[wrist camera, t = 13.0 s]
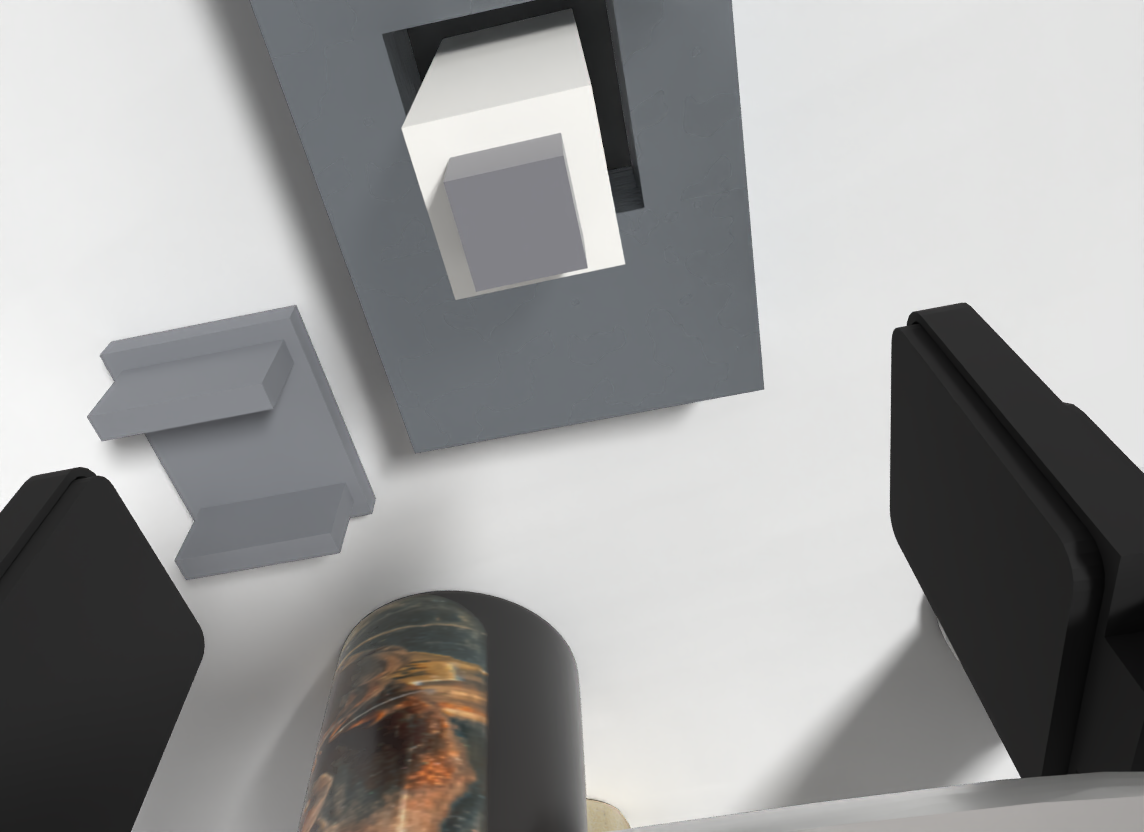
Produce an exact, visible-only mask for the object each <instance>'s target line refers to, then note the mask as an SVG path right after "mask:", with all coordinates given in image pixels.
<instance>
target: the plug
mask: <svg viewBox="0 0 1144 832" xmlns="http://www.w3.org/2000/svg"><path fill="white" fill-rule="evenodd" d="M401 129H402V132H403V135H404V138H405V141H406V145H407V148H408V151H409V154H410V157H411V160H412V164H413V167H414V170H415V173H416V176H417V180H418V183H419V186H420V189H421V192H422V195H423V199H424V202H425V205H426V208H427V211H428V214H429V218H430V221H431V224H432V227H433V230H434V233H435V237H436V240H437V243H438V246H439V249H440V252H441V256H442V259H443V262H444V265H445V268H446V271H447V275H448V278H449V281H450V284H451V287H452V291H453V294H454V297H455V300H458V299H463V298H468V297H472V296H477V295H482V294H487V293H491V292H496V291H501V290H505V289H510V288H515V287H520V286H524V285H529V284H534V283H539V282H543V281H548V280H553V279H558V278H562V277H567V276H572V275H576V274H581V273H586V272H591V271H595V270H600V269H605V268H610V267H614V266H619V265H624V264H625V260H624V255H623V249H622V244H621V239H620V234H619V228H618V223H617V218H616V213H615V207H614V202H613V197H612V192H611V186H610V181H609V176H608V170H607V165H606V160H605V155H604V149H603V144H602V139H601V134H600V128H599V123H598V118H597V113H596V107H595V102H594V97H593V91H592V86H591V82H590V78H589V74H588V70H587V66H586V62H585V58H584V54H583V50H582V46H581V42H580V38H579V34H578V30H577V26H576V22H575V18H574V14H573V10H572V8H570V9H566V10H562V11H558V12H554V13H549V14H545V15H541V16H537V17H532V18H528V19H524V20H520V21H516V22H511V23H507V24H503V25H499V26H494V27H490V28H486V29H482V30H478V31H473V32H469V33H465V34H461V35H457V36H452V37H448V38H444V39H442V42H441V44H440V46H439V48H438V50H437V52H436V55H435V57H434V59H433V61H432V63H431V65H430V68H429V70H428V72H427V74H426V76H425V78H424V80H423V83H422V85H421V87H420V89H419V91H418V93H417V96H416V98H415V100H414V102H413V104H412V106H411V109H410V111H409V113H408V115H407V117H406V119H405V121H404V124H403V126H402V128H401Z"/></svg>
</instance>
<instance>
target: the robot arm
mask: <svg viewBox="0 0 1144 832" xmlns="http://www.w3.org/2000/svg"><path fill="white" fill-rule="evenodd" d="M890 517H891V523H892V527H893V531H894V534H895V537H896V540H897V542H898V544H899V546H900V548H901V550H902V552H903V553H904V555H905V557H906V559H907V561H908V563H909V565H910V567H911V569H912V571H913V573H914V574H915V576H916V578H917V580H918V582H919V584H920V586H921V588H922V590H923V592H924V594H925V595H926V597H927V599H928V601H929V603H930V605H931V607H932V609H933V611H934V613H935V615H936V616H937V619H938V624H939V627H940V629H941V632H942V634H943V637H944V639H945V640H946V642H947V644H948V646H949V647H950V649H951V651H952V652H953V654H954V656H955V658H956V659H958V660H959V661H960V662H961V664H962V666H963V668H964V670H965V672H966V674H967V676H968V677H969V679H970V681H971V683H972V685H973V687H974V689H975V691H976V693H977V695H978V697H979V698H980V700H981V702H982V704H983V706H984V708H985V710H986V712H987V714H988V716H989V718H990V719H991V721H992V723H993V725H994V727H995V729H996V731H997V733H998V735H999V737H1000V738H1001V740H1002V742H1003V744H1004V746H1005V748H1006V750H1007V752H1008V754H1009V756H1010V758H1011V759H1012V761H1013V763H1014V765H1015V767H1016V769H1017V771H1018V773H1019V775H1020V777H1021V778H1019V779H1006V780H996V781H988V782H980V783H972V784H964V785H956V786H947V787H939V788H931V789H923V790H915V791H907V792H899V793H890V794H882V795H874V796H866V797H858V798H850V799H841V800H833V801H825V802H817V803H809V804H802V805H795V806H788V807H781V808H774V809H766V810H759V811H752V812H745V813H738V814H731V815H723V816H716V817H709V818H702V819H695V820H688V821H680V822H673V823H666V824H659V825H652V826H645V827H637V828H630V829H623V830H616V831H609V832H1144V473H1143V472H1142V471H1141V470H1140V469H1139V468H1138V467H1137V466H1136V465H1135V464H1134V463H1133V462H1132V461H1131V460H1130V459H1129V458H1128V457H1127V456H1126V455H1125V454H1124V453H1123V452H1122V451H1121V450H1120V449H1119V448H1118V447H1117V446H1116V445H1115V444H1114V443H1113V442H1112V441H1111V440H1110V438H1109V437H1108V436H1107V435H1106V434H1105V433H1104V432H1103V431H1102V430H1101V429H1100V428H1099V427H1098V426H1097V425H1096V424H1095V423H1094V422H1093V421H1092V420H1091V419H1090V418H1089V417H1088V416H1087V415H1086V414H1085V413H1084V412H1083V411H1082V410H1080V409H1079V408H1078V407H1076V406H1075V405H1074V404H1069V403H1064V402H1062V401H1061V400H1060V399H1059V398H1058V397H1057V396H1056V395H1055V394H1054V393H1053V392H1052V391H1051V390H1050V388H1049V387H1048V386H1047V385H1046V384H1045V383H1044V382H1043V381H1042V380H1041V379H1040V378H1039V377H1038V376H1037V375H1036V374H1035V373H1034V372H1033V371H1032V370H1031V369H1030V368H1029V367H1028V365H1027V364H1026V363H1025V362H1024V361H1023V360H1022V359H1021V358H1020V357H1019V356H1018V355H1017V354H1016V353H1015V352H1014V351H1013V350H1012V349H1011V348H1010V347H1009V346H1008V345H1007V344H1006V343H1005V341H1004V340H1003V339H1002V338H1001V337H1000V336H999V335H998V334H997V333H996V332H995V331H994V330H993V329H992V328H991V327H990V326H989V325H988V324H987V323H986V322H985V321H984V320H983V319H982V317H981V316H980V315H979V314H978V313H977V312H976V311H975V310H974V309H973V308H972V307H971V306H970V305H968V304H967V303H958V304H953V305H947V306H942V307H936V308H931V309H926V310H920V311H915V312H912V313H911V314H910V315H909V318H908V321H907V326H904V327H899V328H895V330H894V331H893V334H892V352H891V449H890ZM204 646H205V645H204V636H203V632H202V630H201V627H200V625H199V624H198V622H197V621H196V619H195V617H194V616H193V614H192V612H191V611H190V609H189V608H188V606H187V604H186V603H185V601H184V599H183V598H182V596H181V595H180V593H179V591H178V590H177V588H176V587H175V585H174V583H173V582H172V580H171V578H170V577H169V575H168V574H167V572H166V570H165V569H164V567H163V566H162V564H161V562H160V561H159V559H158V557H157V556H156V554H155V553H154V551H153V549H152V548H151V546H150V544H149V543H148V541H147V540H146V538H145V536H144V535H143V533H142V532H141V530H140V528H139V527H138V525H137V523H136V522H135V520H134V519H133V517H132V515H131V514H130V512H129V510H128V509H127V507H126V506H125V504H124V502H123V501H122V499H121V498H120V496H119V494H118V493H117V491H116V489H115V488H114V486H113V485H112V484H111V482H110V481H109V480H108V479H106V478H105V477H102V476H96V474H95V473H94V472H92V471H91V470H89V469H88V468H83V467H78V468H72V469H67V470H62V471H56V472H51V473H45V474H40V475H36V476H32V477H31V478H29V479H28V480H27V481H26V482H25V483H24V484H23V485H22V486H21V488H20V489H19V490H18V491H17V493H16V494H15V495H14V496H13V498H12V499H11V500H10V501H9V503H8V504H7V505H6V506H5V507H4V509H3V510H2V511H1V512H0V832H131V830H132V827H133V825H134V823H135V820H136V818H137V815H138V813H139V811H140V808H141V806H142V803H143V801H144V798H145V796H146V794H147V791H148V789H149V786H150V784H151V781H152V779H153V777H154V774H155V772H156V769H157V767H158V765H159V762H160V760H161V757H162V755H163V752H164V750H165V748H166V745H167V743H168V740H169V738H170V736H171V733H172V731H173V728H174V726H175V723H176V721H177V719H178V716H179V714H180V711H181V709H182V707H183V704H184V702H185V699H186V697H187V694H188V692H189V690H190V687H191V685H192V682H193V680H194V677H195V675H196V673H197V670H198V668H199V665H200V663H201V661H202V658H203V654H204Z"/></svg>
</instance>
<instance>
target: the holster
mask: <svg viewBox="0 0 1144 832" xmlns="http://www.w3.org/2000/svg"><path fill="white" fill-rule="evenodd" d="M100 357H101V359H102V360H103V362H104V364H105V366H106V367H107V369H108V371H109V373H110V374H111V376H112V378H113V380H114V381H115V382H114V383H113V384H112V385H111V387H110V388H109V389H108V391H107V392H106V393H105V394H104V396H103V397H102V398H101V400H100V401H99V402H98V403H97V405H96V406H95V407H94V408H93V410H92V411H91V412H90V414H89V415H88V416H87V418H88V420H89V421H90V423H91V424H92V426H93V428H94V429H95V431H96V433H97V434H98V436H99V438H100V439H101V441H106V440H111V439H117V438H122V437H127V436H132V435H138V434H143V433H144V434H145V436H146V437H147V439H148V441H149V443H150V444H151V446H152V448H153V450H154V451H155V453H156V455H157V457H158V458H159V460H160V462H161V464H162V465H163V467H164V469H165V471H166V472H167V474H168V476H169V478H170V479H171V481H172V483H173V485H174V486H175V488H176V490H177V492H178V493H179V495H180V497H181V499H182V500H183V502H184V504H185V506H186V507H187V509H188V511H189V513H190V514H191V516H192V518H193V520H194V523H193V525H192V527H191V529H190V531H189V533H188V535H187V537H186V539H185V541H184V543H183V545H182V547H181V549H180V551H179V553H178V555H177V557H176V559H175V562H176V564H177V566H178V567H179V569H180V571H181V572H182V574H183V576H184V577H185V579H186V580H189V579H195V578H201V577H206V576H212V575H218V574H224V573H229V572H235V571H241V570H246V569H252V568H258V567H263V566H269V565H275V564H280V563H286V562H292V561H297V560H303V559H309V558H314V557H320V556H326V555H332V554H337V553H340V551H341V548H342V544H343V540H344V537H345V533H346V529H347V526H348V522H349V518H351V517H357V516H363V515H368V514H372V512H373V508H374V504H375V499H376V498H375V495H374V493H373V490H372V488H371V485H370V483H369V481H368V478H367V476H366V473H365V471H364V468H363V466H362V464H361V461H360V459H359V456H358V454H357V451H356V449H355V447H354V444H353V442H352V439H351V437H350V434H349V432H348V430H347V427H346V425H345V422H344V420H343V417H342V415H341V413H340V410H339V408H338V405H337V403H336V400H335V398H334V396H333V393H332V391H331V388H330V386H329V383H328V381H327V379H326V376H325V374H324V371H323V369H322V366H321V364H320V362H319V359H318V357H317V354H316V352H315V349H314V347H313V345H312V342H311V340H310V337H309V335H308V332H307V330H306V328H305V325H304V323H303V320H302V318H301V315H300V313H299V311H298V308H297V306H296V305H294V306H289V307H284V308H279V309H274V310H269V311H264V312H259V313H254V314H249V315H244V316H239V317H233V318H228V319H223V320H218V321H213V322H208V323H203V324H198V325H193V326H188V327H183V328H178V329H173V330H168V331H163V332H158V333H153V334H148V335H143V336H138V337H133V338H128V339H123V340H118V341H113V342H111V343H110V344H109V345H108V346H107V347H106V348H105V350H104V351H103V352H102V353H101V354H100Z"/></svg>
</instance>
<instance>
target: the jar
mask: <svg viewBox="0 0 1144 832" xmlns="http://www.w3.org/2000/svg"><path fill="white" fill-rule="evenodd" d="M298 832H588V823H587V803H586V783H585V766H584V748H583V731H582V715H581V700H580V687H579V677H578V670H577V666H576V662H575V659H574V656H573V654H572V652H571V650H570V648H569V646H568V645H567V643H566V641H565V640H564V639H563V638H562V636H561V635H560V634H559V633H558V632H557V631H556V630H555V629H554V628H553V627H552V626H551V625H550V624H549V623H548V622H546V621H545V620H544V619H542V618H541V617H539V616H538V615H536V614H535V613H533V612H531V611H530V610H528V609H526V608H524V607H522V606H520V605H517V604H515V603H513V602H510V601H507V600H504V599H501V598H498V597H494V596H490V595H485V594H480V593H474V592H464V591H436V592H427V593H421V594H416V595H412V596H408V597H404V598H401V599H398V600H395V601H393V602H391V603H388V604H386V605H384V606H382V607H380V608H379V609H377V610H375V611H374V612H372V613H371V614H369V615H368V616H367V617H365V618H364V619H363V620H362V621H361V622H360V623H359V624H358V625H357V626H356V627H355V628H354V629H353V631H352V632H351V633H350V635H349V636H348V638H347V639H346V642H345V644H344V646H343V648H342V651H341V654H340V657H339V661H338V664H337V668H336V672H335V676H334V680H333V684H332V688H331V692H330V696H329V700H328V704H327V708H326V712H325V716H324V720H323V725H322V729H321V733H320V737H319V741H318V746H317V750H316V754H315V758H314V762H313V767H312V771H311V775H310V780H309V784H308V788H307V793H306V797H305V801H304V806H303V810H302V815H301V819H300V823H299V828H298Z"/></svg>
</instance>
